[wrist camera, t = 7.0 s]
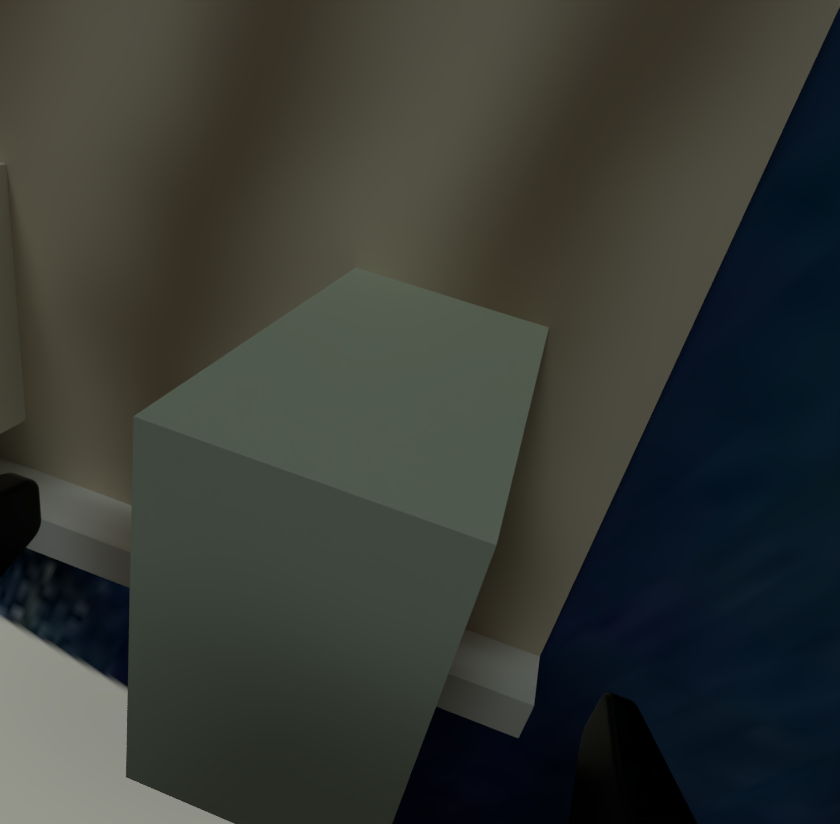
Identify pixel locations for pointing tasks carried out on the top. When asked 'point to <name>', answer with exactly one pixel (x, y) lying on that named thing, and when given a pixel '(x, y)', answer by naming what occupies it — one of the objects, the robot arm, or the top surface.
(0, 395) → the cream carton
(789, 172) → the top surface
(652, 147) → the beige shallow tray
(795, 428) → the top surface
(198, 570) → the sage carton
